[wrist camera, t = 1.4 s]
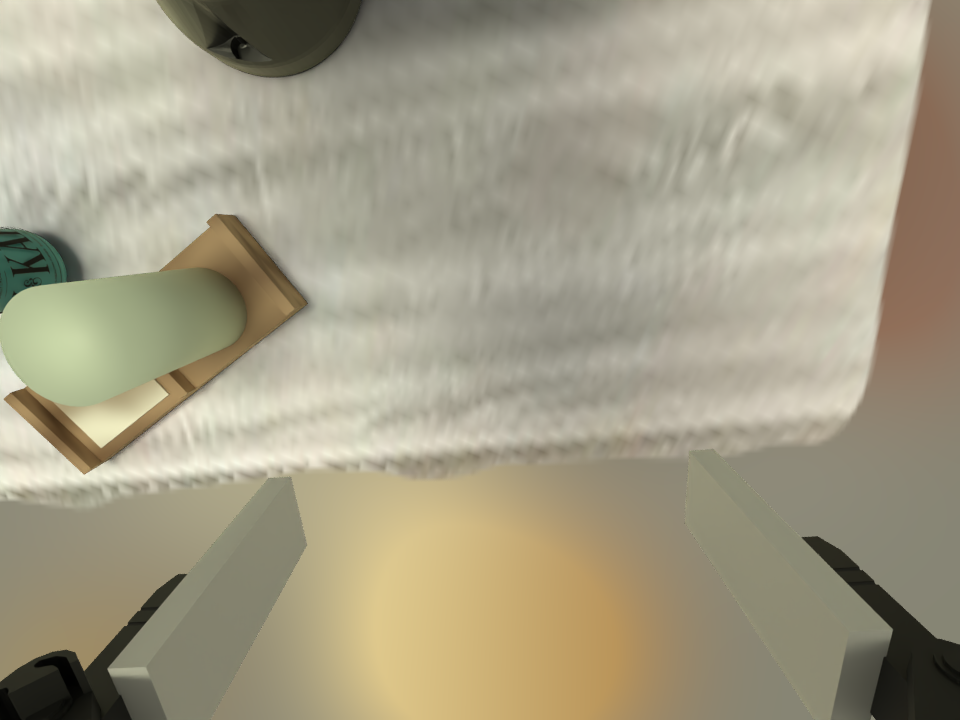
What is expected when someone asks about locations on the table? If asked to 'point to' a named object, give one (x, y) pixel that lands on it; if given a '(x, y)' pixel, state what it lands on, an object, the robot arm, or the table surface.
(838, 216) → the table surface
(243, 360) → the table surface
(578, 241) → the table surface
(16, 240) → the beverage bottle
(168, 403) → the wooden tray
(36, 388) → the sage canister
